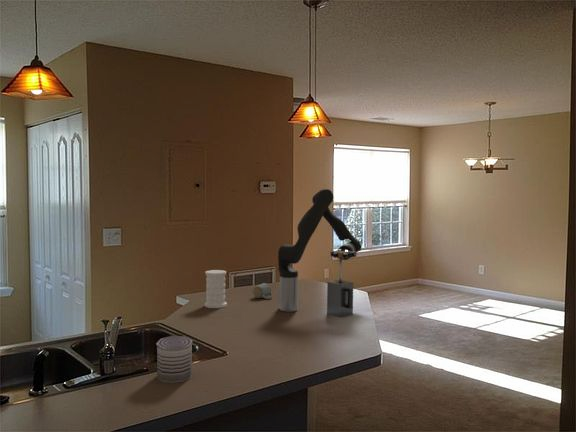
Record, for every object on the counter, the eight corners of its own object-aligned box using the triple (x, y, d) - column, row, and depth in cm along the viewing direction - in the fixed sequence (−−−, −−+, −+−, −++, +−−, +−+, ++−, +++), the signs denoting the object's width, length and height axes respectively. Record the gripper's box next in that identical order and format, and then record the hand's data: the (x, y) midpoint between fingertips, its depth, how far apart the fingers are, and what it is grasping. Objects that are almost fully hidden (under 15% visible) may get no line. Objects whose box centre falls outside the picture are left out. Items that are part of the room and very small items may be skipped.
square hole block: (326, 313, 254) (327, 281, 253) (339, 311, 259) (340, 279, 258) (344, 318, 244) (344, 285, 243) (357, 315, 250) (357, 283, 249)
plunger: (330, 292, 253) (331, 251, 251) (340, 290, 257) (340, 250, 256) (340, 294, 248) (340, 253, 246) (349, 293, 252) (350, 252, 250)
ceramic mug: (251, 297, 287) (251, 284, 287) (260, 295, 294) (260, 282, 294) (266, 300, 281) (267, 287, 281) (275, 298, 288) (275, 284, 288)
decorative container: (229, 307, 265) (229, 272, 264) (207, 308, 261) (207, 274, 260) (223, 302, 276) (223, 269, 275) (202, 304, 271) (202, 270, 270)
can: (194, 370, 175) (194, 335, 174) (189, 383, 163) (189, 346, 163) (161, 370, 174) (161, 335, 174) (153, 383, 163) (153, 346, 162)
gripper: (332, 243, 267) (325, 247, 250) (359, 245, 262) (354, 248, 246) (332, 258, 267) (325, 262, 251) (359, 259, 263) (354, 264, 246)
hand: (339, 255), depth 248 cm, fingers closed on plunger, 4 cm apart
